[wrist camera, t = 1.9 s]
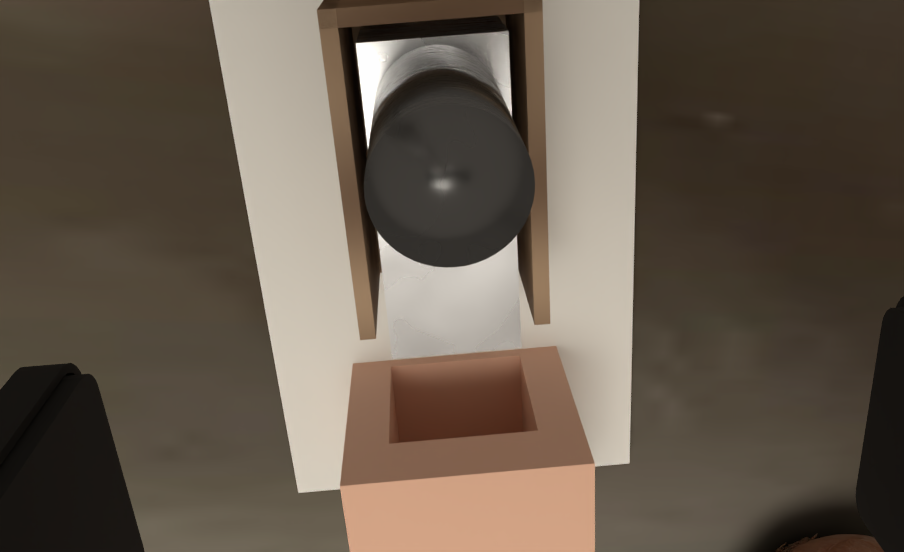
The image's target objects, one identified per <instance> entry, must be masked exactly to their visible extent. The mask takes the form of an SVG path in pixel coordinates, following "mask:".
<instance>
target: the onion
mask: <svg viewBox="0 0 904 552" xmlns="http://www.w3.org/2000/svg"><path fill="white" fill-rule="evenodd" d="M817 534H818V533H817ZM817 534H816V535H814V536H813V537H812V538H810V539H809V538H808V537H805V538H803V539H802V540H800V541H796V542H795V543H794V544H788V546H789V547H785V548H784V547H783V546H784V545H786V543H787V542H786V543H784V544H782V545H781V546H780V547H779V549H778V548H777V550H776V551H775V552H884V551H883V549H882V548H881V546H880V545H879V544H878V542H877V541H876V539H875V538H874V537H871V536H866V535H857V534H837V535H831V536H826V537H822V538H818V539H814V538H815V537H816V536H817ZM781 548H782V549H781Z"/></svg>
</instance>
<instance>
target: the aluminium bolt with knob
mask: <svg viewBox="0 0 904 552" xmlns="http://www.w3.org/2000/svg"><path fill="white" fill-rule="evenodd" d="M356 49H357V58H358V67H359V75H360V84H361V93H362V101H363V110H364V119H365V128H366V136H367V145H368V154H367V161H366V169H365V177H364V198H365V203H366V208H367V211H368V214H369V217H370V219H371V221H372V223H373V225H374V227H375V228H376V230H377V232H378V241H379V249H380V258H381V267H382V276H383V284H384V293H385V302H386V310H387V319H388V328H389V337H390V345H391V354H392V359H396V358H408V357H420V356H431V355H443V354H454V353H466V352H477V351H489V350H500V349H512V348H522V347H521V323H520V298H519V274H518V250H517V234H518V233H519V232H520V230H521V229H522V227H523V226H524V224H525V222H526V220H527V218H528V216H529V214H530V211H531V208H532V205H533V200H534V194H535V176H534V169H533V165H532V161H531V159H530V156H529V154H528V151H527V149H526V147H525V144H524V142H523V140H522V138H521V136H520V134H519V131H518V129H517V127H516V125H515V123H514V120H513V118H512V104H511V80H510V56H509V31H508V30H507V28H506V27H505V25H504V24H503V22H502V21H501V20H500V18H499V17H498V15H493V16H481V17H468V18H456V19H443V20H431V21H418V22H406V23H393V24H381V25H368V26H361V27H360V31H359V34H358V38H357V41H356Z"/></svg>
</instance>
